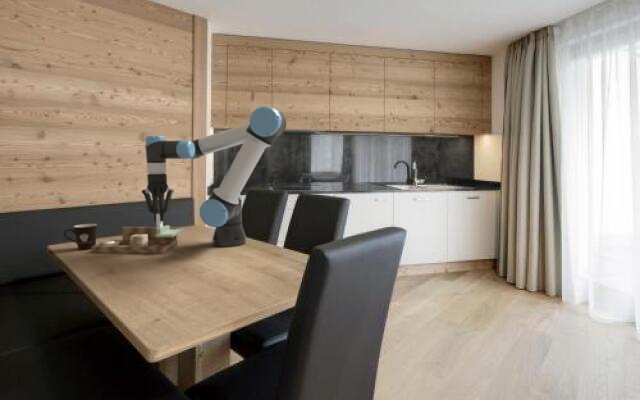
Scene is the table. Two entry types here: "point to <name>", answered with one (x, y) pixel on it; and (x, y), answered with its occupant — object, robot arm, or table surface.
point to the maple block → (139, 239)
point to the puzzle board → (125, 245)
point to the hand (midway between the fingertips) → (159, 228)
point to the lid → (168, 231)
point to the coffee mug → (84, 236)
